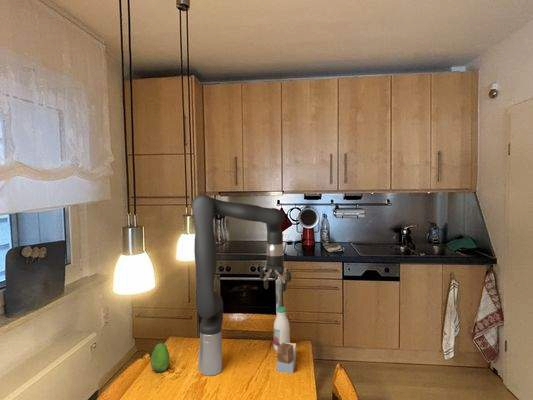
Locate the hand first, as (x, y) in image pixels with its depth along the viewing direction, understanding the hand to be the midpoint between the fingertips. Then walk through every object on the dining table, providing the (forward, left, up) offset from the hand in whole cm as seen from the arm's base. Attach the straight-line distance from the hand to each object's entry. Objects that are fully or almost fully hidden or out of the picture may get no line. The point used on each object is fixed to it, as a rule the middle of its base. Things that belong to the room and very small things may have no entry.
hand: (275, 290), depth 154 cm
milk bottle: (-2, +12, -33) cm, 35 cm away
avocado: (-42, -27, -33) cm, 60 cm away
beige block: (+5, +5, -33) cm, 33 cm away
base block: (+6, -3, -33) cm, 33 cm away
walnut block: (+6, -4, -29) cm, 29 cm away
